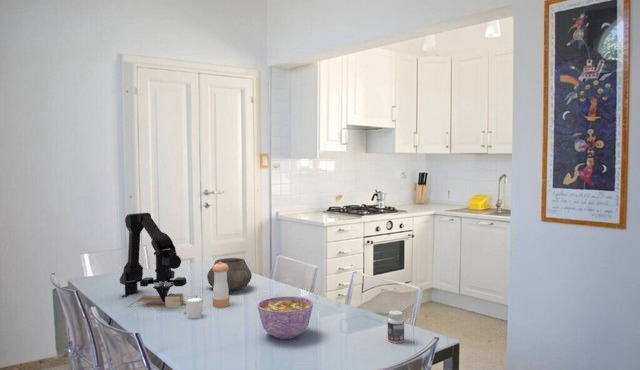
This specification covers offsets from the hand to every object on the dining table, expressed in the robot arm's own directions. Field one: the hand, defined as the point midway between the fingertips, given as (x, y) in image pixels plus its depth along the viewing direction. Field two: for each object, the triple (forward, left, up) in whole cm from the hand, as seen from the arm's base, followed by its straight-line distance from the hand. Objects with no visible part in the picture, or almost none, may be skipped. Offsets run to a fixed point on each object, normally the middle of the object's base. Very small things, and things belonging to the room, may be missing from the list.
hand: (163, 301), depth 222 cm
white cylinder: (+12, +17, -3) cm, 21 cm away
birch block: (0, +5, -1) cm, 5 cm away
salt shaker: (-4, +24, -3) cm, 25 cm away
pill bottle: (+39, +96, -3) cm, 104 cm away
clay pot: (-30, +22, -3) cm, 37 cm away
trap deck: (-5, -2, -3) cm, 6 cm away
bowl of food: (+34, +57, -3) cm, 67 cm away
